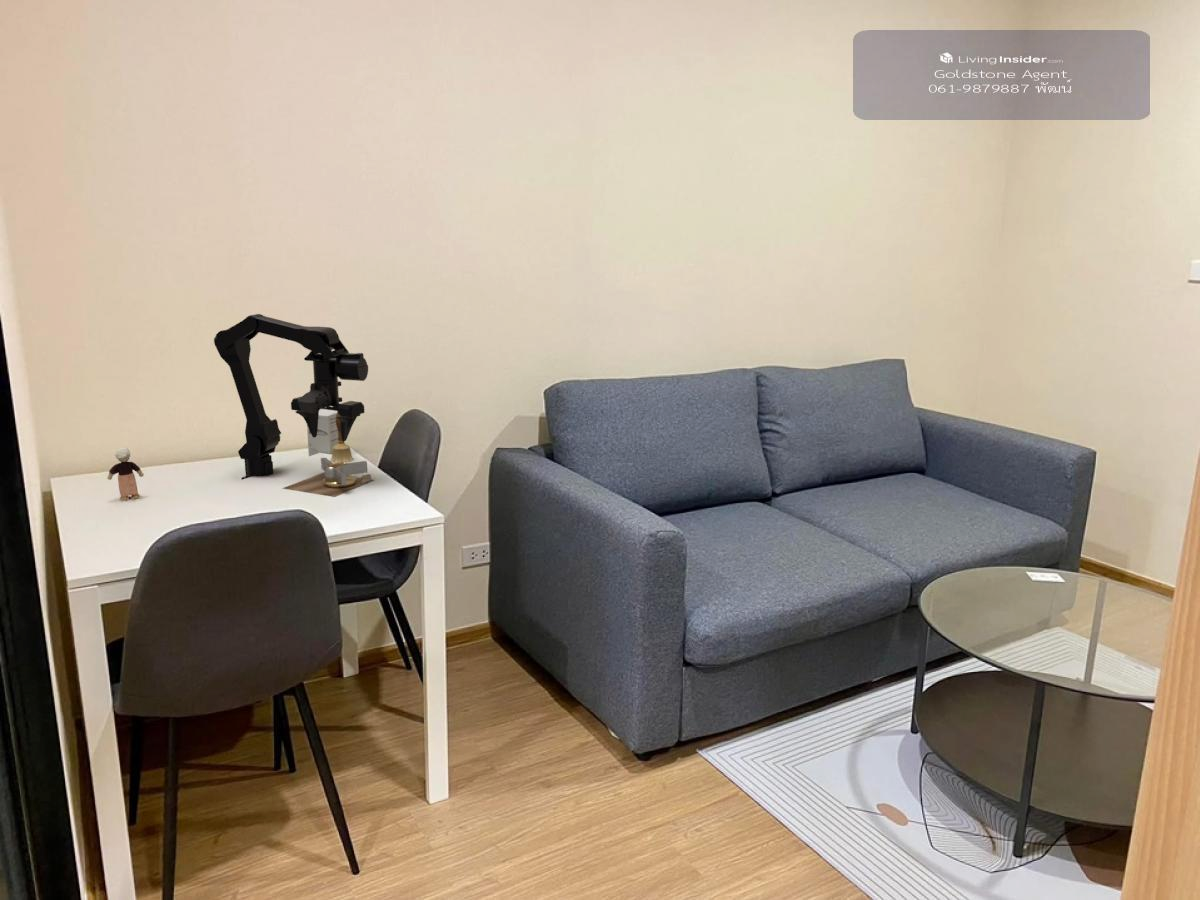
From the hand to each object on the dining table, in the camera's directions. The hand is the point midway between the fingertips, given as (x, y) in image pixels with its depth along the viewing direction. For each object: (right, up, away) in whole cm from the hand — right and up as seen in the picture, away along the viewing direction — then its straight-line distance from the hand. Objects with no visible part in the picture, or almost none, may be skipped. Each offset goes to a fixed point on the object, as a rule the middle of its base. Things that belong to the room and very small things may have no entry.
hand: (329, 439), depth 235 cm
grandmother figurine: (-45, -15, -12) cm, 49 cm away
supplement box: (-10, -4, +31) cm, 33 cm away
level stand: (+1, -13, -2) cm, 13 cm away
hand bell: (-2, -7, +21) cm, 22 cm away
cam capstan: (+4, -11, -1) cm, 12 cm away
